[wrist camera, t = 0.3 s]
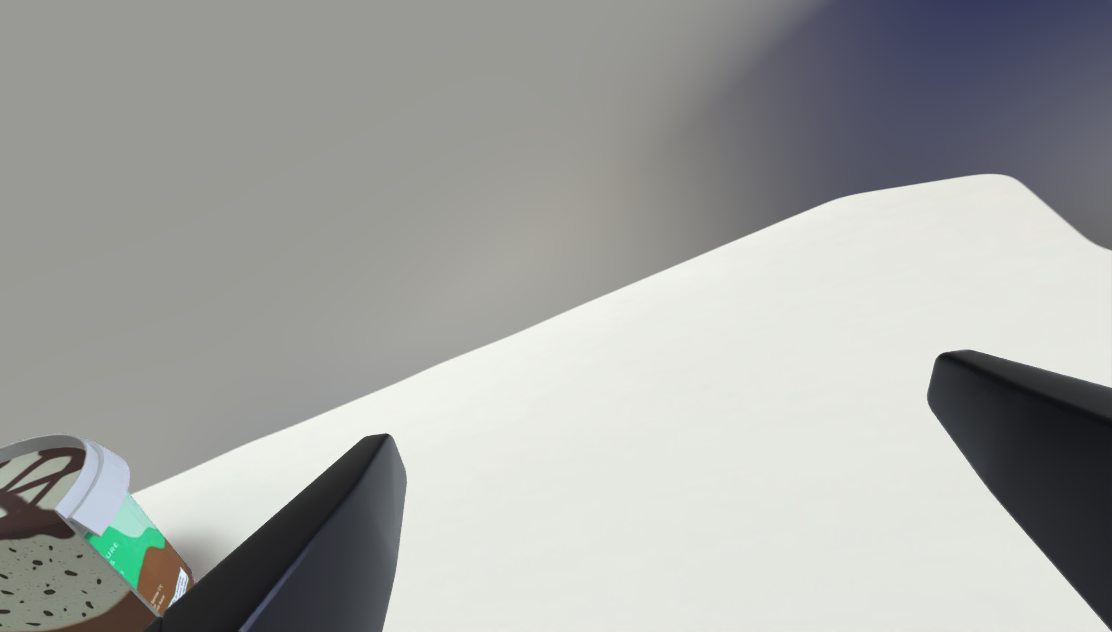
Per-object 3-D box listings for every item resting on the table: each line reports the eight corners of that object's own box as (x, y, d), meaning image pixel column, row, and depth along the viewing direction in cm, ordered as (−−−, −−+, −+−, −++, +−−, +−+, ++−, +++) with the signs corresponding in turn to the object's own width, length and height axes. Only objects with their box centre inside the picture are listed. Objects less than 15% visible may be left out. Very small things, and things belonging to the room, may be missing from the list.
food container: (259, 523, 30) (159, 403, 25) (207, 629, 25) (66, 506, 20) (71, 561, 31) (-65, 451, 26) (-18, 672, 26) (-213, 563, 21)
